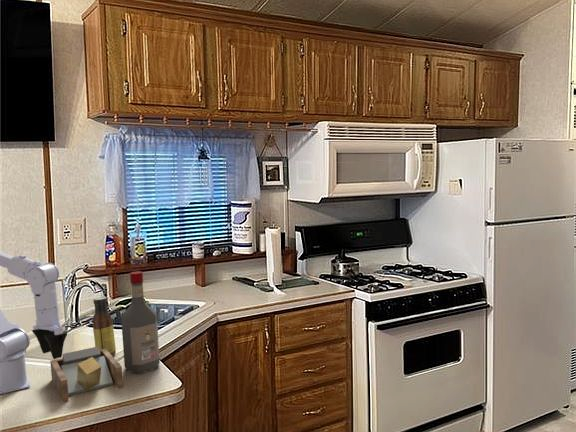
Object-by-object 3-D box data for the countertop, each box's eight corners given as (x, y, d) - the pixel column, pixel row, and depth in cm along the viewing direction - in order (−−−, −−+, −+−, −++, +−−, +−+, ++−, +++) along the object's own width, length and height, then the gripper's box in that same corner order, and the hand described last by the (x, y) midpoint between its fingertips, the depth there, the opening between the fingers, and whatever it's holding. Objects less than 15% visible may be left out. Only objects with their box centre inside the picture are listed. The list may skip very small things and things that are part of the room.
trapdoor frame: (51, 380, 155) (50, 360, 155) (107, 367, 164) (105, 348, 163) (62, 402, 140) (61, 380, 140) (123, 386, 149) (121, 366, 148)
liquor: (163, 366, 163) (157, 272, 160) (136, 375, 156) (129, 277, 153) (148, 359, 169) (142, 268, 166) (121, 368, 163) (115, 273, 160)
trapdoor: (58, 361, 154) (59, 354, 152) (100, 352, 160) (101, 345, 159) (68, 397, 145) (68, 391, 143) (112, 386, 151) (113, 380, 150)
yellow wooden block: (76, 380, 148) (77, 364, 144) (91, 373, 151) (92, 356, 147) (85, 391, 146) (86, 374, 142) (99, 383, 149) (101, 366, 145)
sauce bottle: (118, 352, 177) (114, 295, 174) (112, 359, 170) (108, 299, 168) (98, 353, 176) (94, 295, 174) (92, 360, 170) (88, 300, 168)
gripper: (22, 307, 148) (28, 353, 149) (41, 315, 138) (47, 365, 139) (48, 301, 153) (53, 346, 154) (68, 308, 142) (73, 357, 144)
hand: (52, 355), depth 147 cm, fingers open, 7 cm apart
